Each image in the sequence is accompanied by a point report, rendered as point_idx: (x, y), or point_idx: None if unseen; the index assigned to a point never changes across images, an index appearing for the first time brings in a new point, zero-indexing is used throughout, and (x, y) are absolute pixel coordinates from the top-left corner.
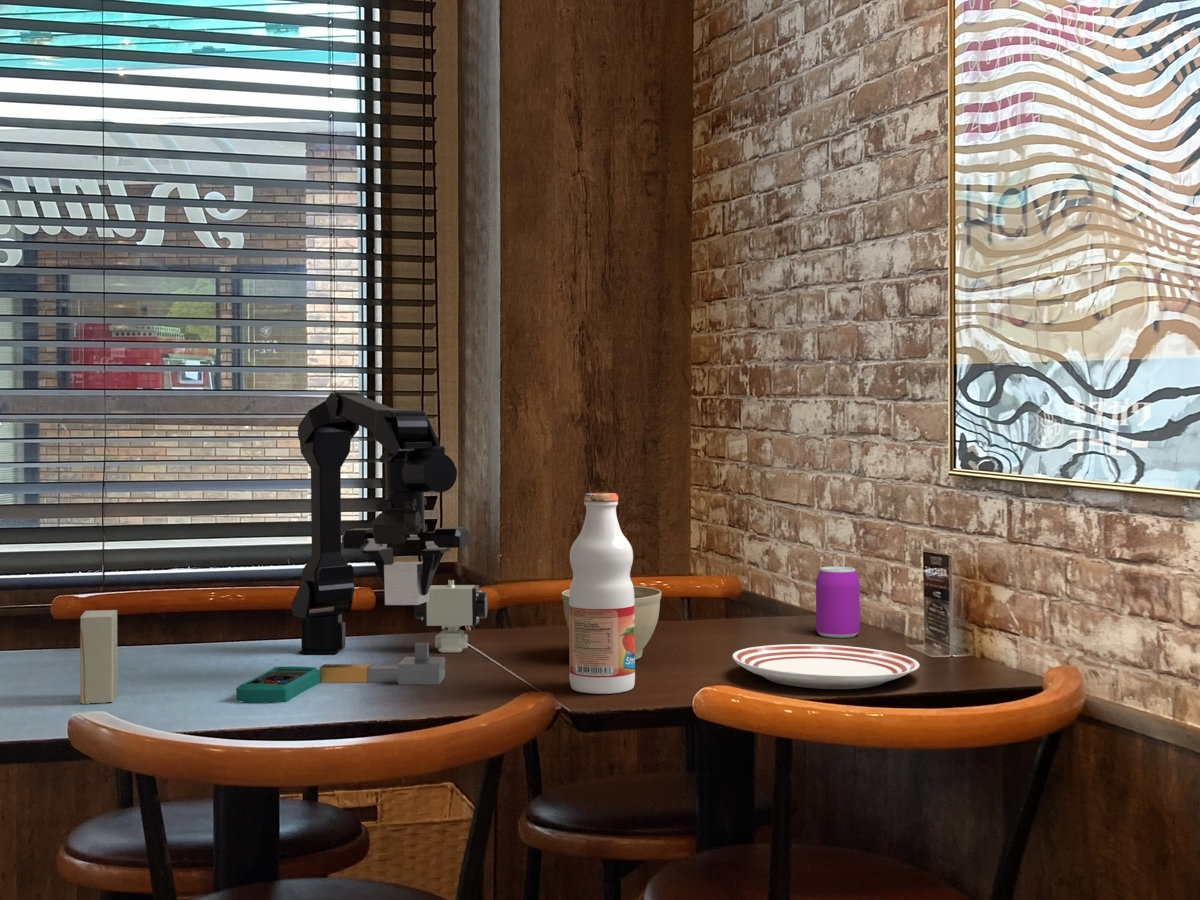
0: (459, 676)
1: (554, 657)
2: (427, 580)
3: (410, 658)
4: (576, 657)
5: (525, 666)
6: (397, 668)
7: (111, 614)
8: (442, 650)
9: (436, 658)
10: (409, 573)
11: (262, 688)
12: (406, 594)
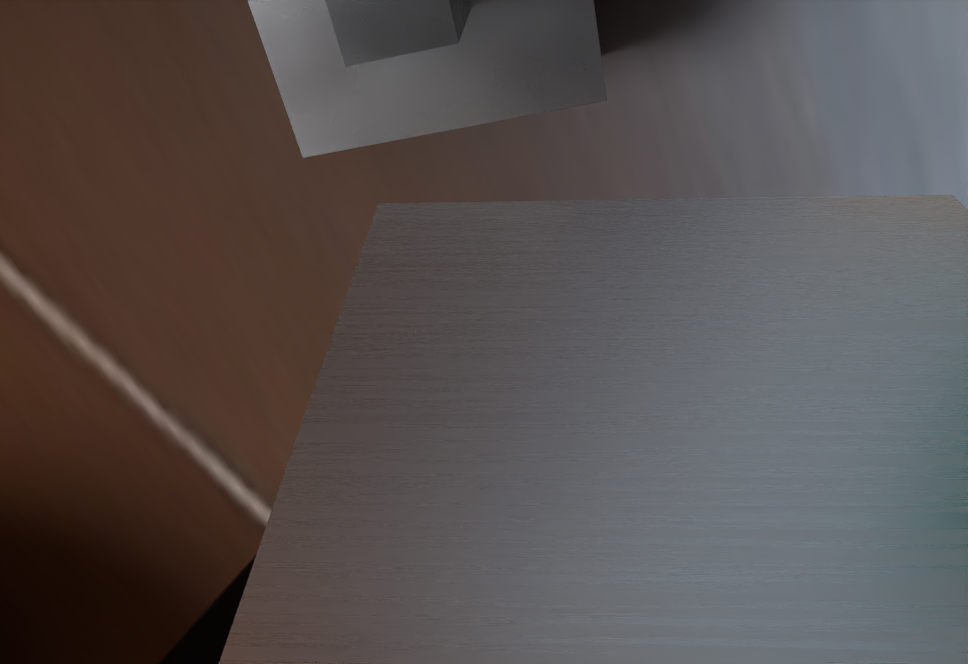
0: (250, 131)
1: (65, 613)
2: (187, 635)
3: (540, 36)
4: None
5: (61, 437)
6: None
7: None
8: None
9: (332, 79)
10: (482, 649)
11: None
12: (573, 286)
